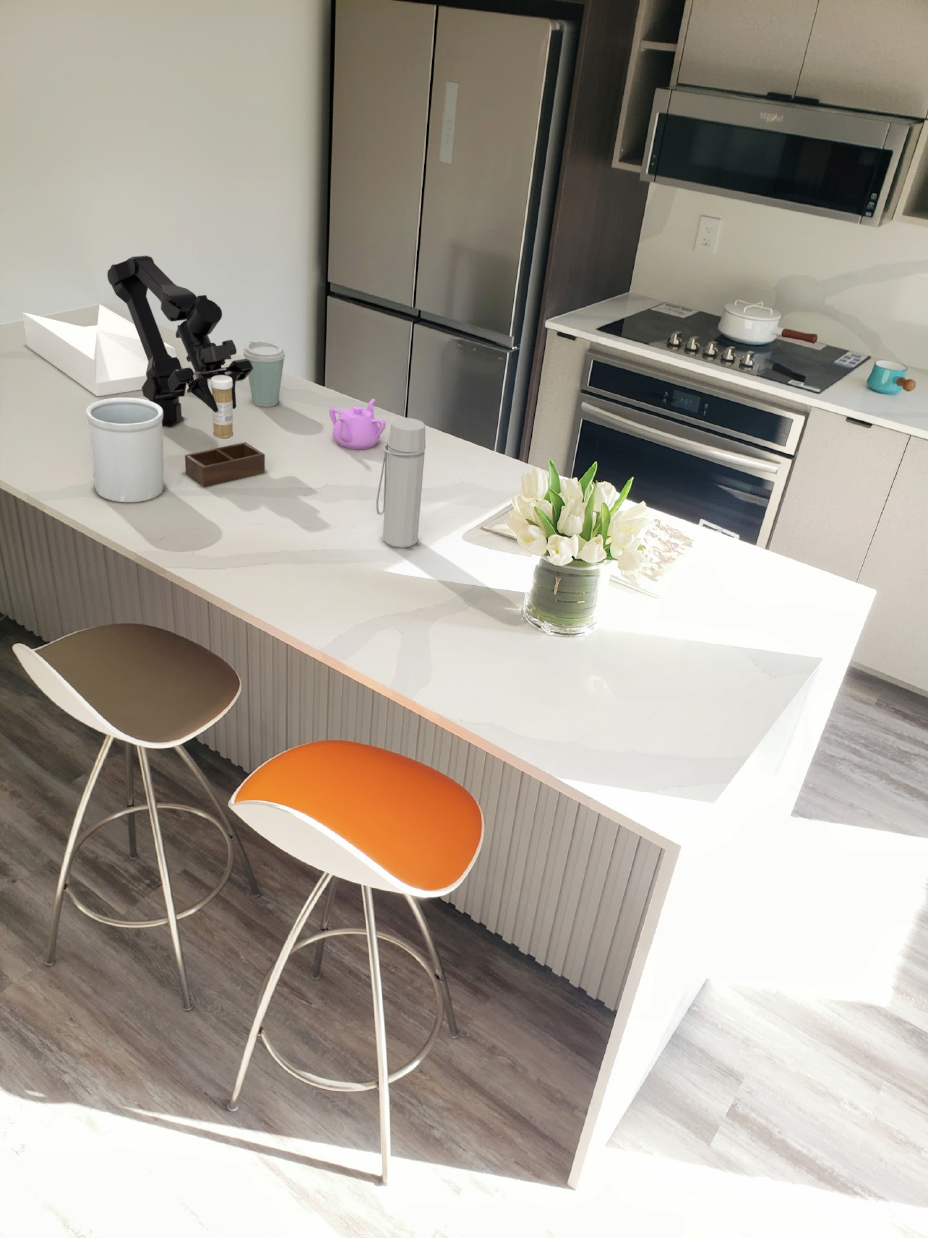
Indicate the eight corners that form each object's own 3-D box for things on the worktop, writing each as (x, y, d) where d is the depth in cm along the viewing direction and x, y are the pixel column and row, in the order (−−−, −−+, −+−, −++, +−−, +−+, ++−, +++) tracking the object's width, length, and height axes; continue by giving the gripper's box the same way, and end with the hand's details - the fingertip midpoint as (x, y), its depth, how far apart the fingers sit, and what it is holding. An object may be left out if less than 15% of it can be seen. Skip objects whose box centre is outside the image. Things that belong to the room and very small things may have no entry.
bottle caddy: (185, 473, 222) (184, 454, 220) (245, 460, 231) (245, 441, 229) (204, 487, 217) (203, 467, 215) (264, 472, 226) (264, 454, 224)
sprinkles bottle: (227, 430, 230) (226, 373, 223) (237, 437, 228) (236, 379, 221) (208, 433, 228) (207, 375, 221) (218, 440, 225) (217, 382, 218)
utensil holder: (182, 486, 216) (178, 408, 207) (135, 510, 205) (128, 429, 196) (127, 469, 221) (121, 391, 212) (78, 492, 209) (69, 411, 200)
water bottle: (423, 537, 207) (433, 421, 194) (409, 553, 201) (418, 434, 188) (382, 527, 209) (389, 412, 196) (367, 542, 203) (373, 424, 190)
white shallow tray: (177, 383, 269) (175, 348, 264) (97, 396, 256) (93, 359, 251) (102, 336, 296) (99, 303, 291) (26, 345, 283) (22, 311, 278)
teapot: (338, 453, 240) (339, 417, 235) (326, 431, 251) (327, 397, 246) (386, 451, 244) (388, 416, 239) (372, 430, 255) (374, 396, 250)
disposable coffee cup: (293, 403, 265) (294, 346, 257) (265, 413, 257) (265, 355, 249) (263, 392, 270) (262, 336, 262) (234, 402, 262) (233, 345, 254)
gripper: (171, 332, 212) (200, 400, 211) (248, 322, 223) (276, 386, 223) (155, 358, 221) (183, 423, 220) (230, 347, 232) (256, 408, 232)
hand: (225, 409), depth 223 cm, fingers closed on sprinkles bottle, 4 cm apart
